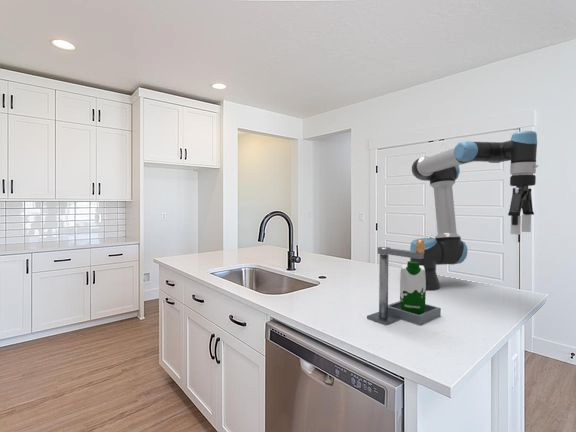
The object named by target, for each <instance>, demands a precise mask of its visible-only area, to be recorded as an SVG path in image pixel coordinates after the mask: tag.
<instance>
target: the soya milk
mask: <svg viewBox="0 0 576 432" xmlns="http://www.w3.org/2000/svg"><path fill="white" fill-rule="evenodd" d="M399 274H400V275H399V276H400V278H399V301H400V305H401V310H404V311H407V312H410V313H414V314H417V315H420V314H423V313H424V310H425V304H426V293H427V292H426V291H427V290H426V278H425V277H426V273H425V268H424V266H420V265H419V262H416V261H407V263H406V264H401V267H400V273H399Z"/></svg>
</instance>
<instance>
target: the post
mask: <svg viewBox="0 0 576 432" xmlns="http://www.w3.org/2000/svg"><path fill="white" fill-rule="evenodd" d="M378 270H379V271H378V272H379V277H378V278H379V280H378V282H379V284H378V288H379V289H378V292H379V293H378V294H379V295H378V297H379V298H378V311H377V312H374V313H371V314H369V315H367V316H366V319H367V320H370V321H373V322H376V323H378V324H381V325H384V326H388V325H390V324H393V323H396V322H398V321H400V320H401V319H400V317H398V316H395V315H391V314H388V305H389V255H388V254H379V269H378Z"/></svg>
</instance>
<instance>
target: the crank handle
mask: <svg viewBox="0 0 576 432" xmlns="http://www.w3.org/2000/svg"><path fill="white" fill-rule="evenodd" d="M415 240H416V239H415ZM424 243H425V240H416V252H415V251H410V250H405V249H397V248H391V247H389V246H388V247H387V246H378V247H377V254H378V255H380V254H387V255H390V256H395V257H396V256H397V257H404V258H409V259H410V258H415V259H423V258H424Z"/></svg>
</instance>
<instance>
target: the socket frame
mask: <svg viewBox="0 0 576 432" xmlns="http://www.w3.org/2000/svg"><path fill="white" fill-rule="evenodd" d="M441 309H442V308H440V307H438V306H435V305H431V304H427V303H425V310H424V313H423V314H420V315H417V314H414V313H410V312H407V311H404V310H401V305H400V300H398V301H396V302H392V303H390V304H389V303H388V314H391V315H395V316H398V317H400V320H402V321H406V322H409V323H412V324H414V325H418V326H422V325H424V324H426V323H428V322H430V321H433V320H435V319H437V318H439V317H441V315H442V314H441Z"/></svg>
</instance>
